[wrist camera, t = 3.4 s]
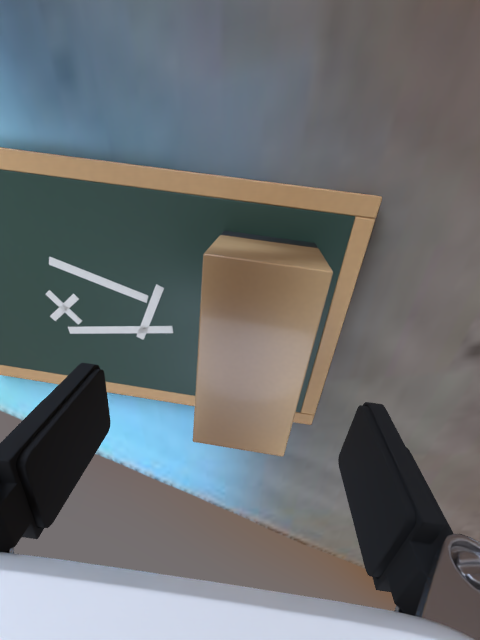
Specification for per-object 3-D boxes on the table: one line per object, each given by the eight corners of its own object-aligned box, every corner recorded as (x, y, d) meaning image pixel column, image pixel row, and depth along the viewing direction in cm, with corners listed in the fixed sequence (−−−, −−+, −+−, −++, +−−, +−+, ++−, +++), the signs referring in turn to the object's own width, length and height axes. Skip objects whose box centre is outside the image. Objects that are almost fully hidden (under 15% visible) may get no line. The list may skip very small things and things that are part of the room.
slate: (376, 195, 15) (383, 196, 14) (310, 415, 21) (311, 426, 20) (-76, 137, 16) (-98, 135, 15) (-2, 365, 22) (-14, 373, 21)
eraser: (315, 242, 15) (333, 271, 10) (281, 392, 19) (283, 457, 15) (223, 230, 15) (202, 253, 11) (210, 381, 20) (192, 442, 15)
